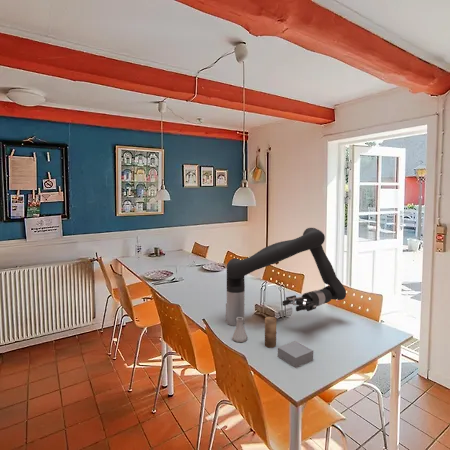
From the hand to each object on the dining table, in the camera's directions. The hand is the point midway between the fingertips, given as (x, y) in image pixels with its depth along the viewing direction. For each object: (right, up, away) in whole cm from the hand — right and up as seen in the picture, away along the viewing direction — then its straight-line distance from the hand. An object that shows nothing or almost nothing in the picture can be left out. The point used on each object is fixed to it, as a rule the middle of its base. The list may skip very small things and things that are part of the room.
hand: (289, 306), depth 143 cm
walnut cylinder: (-10, -16, -4) cm, 19 cm away
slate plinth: (-1, -17, -15) cm, 23 cm away
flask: (-23, -16, +1) cm, 28 cm away
